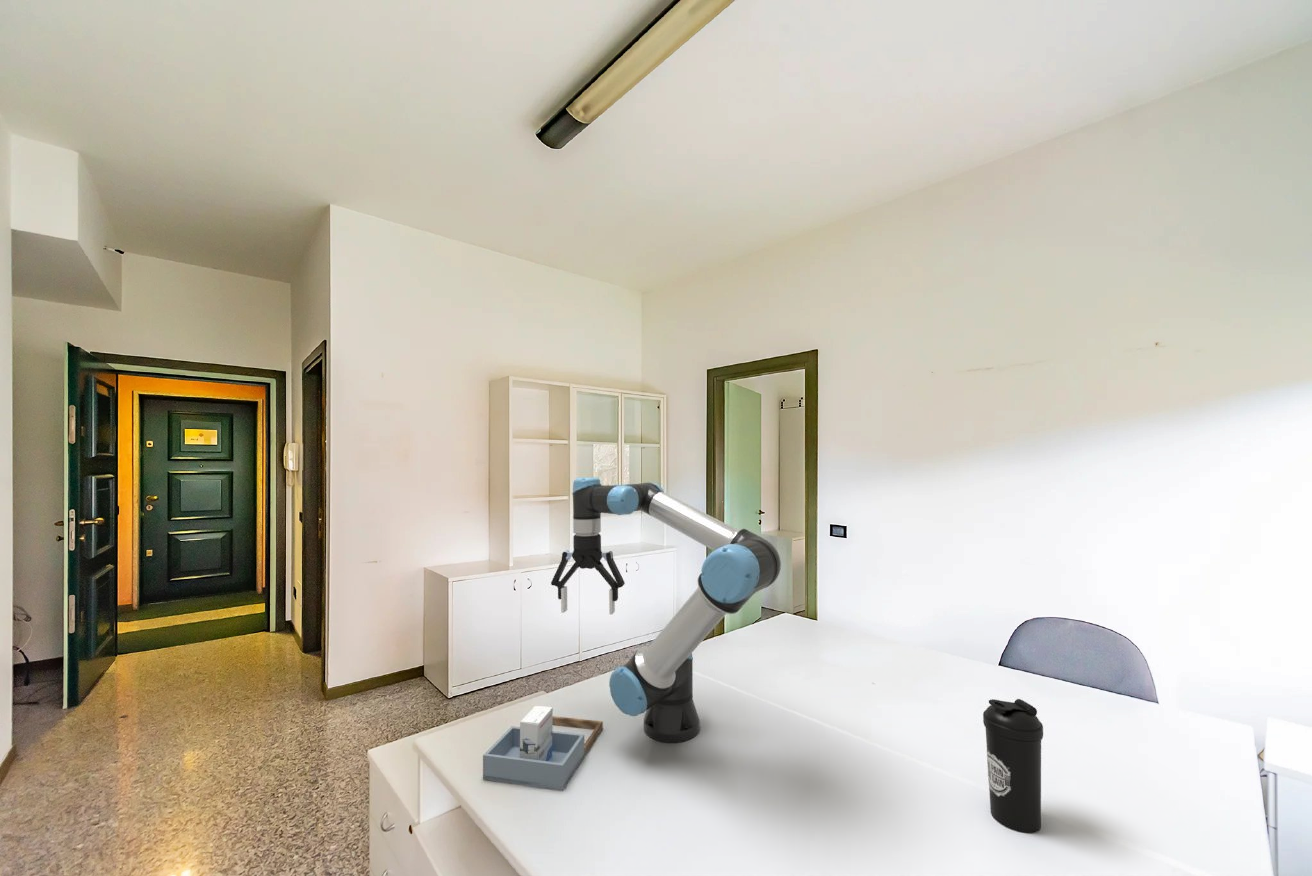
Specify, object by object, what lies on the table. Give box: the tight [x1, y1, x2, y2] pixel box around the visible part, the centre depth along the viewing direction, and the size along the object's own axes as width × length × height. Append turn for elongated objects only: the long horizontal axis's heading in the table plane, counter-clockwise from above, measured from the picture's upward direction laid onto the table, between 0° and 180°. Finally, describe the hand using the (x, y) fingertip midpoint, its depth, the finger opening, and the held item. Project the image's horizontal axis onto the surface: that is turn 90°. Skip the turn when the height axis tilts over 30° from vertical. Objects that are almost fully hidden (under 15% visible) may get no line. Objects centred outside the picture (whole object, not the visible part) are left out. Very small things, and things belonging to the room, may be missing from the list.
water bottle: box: [982, 698, 1044, 834], centre depth 109 cm, size 10×10×23 cm
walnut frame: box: [552, 715, 604, 757], centre depth 142 cm, size 20×14×2 cm
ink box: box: [519, 705, 554, 761], centre depth 128 cm, size 9×5×12 cm, turn 167°
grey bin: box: [482, 725, 586, 792], centre depth 128 cm, size 20×14×6 cm
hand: (588, 612), depth 147 cm, fingers open, 13 cm apart
